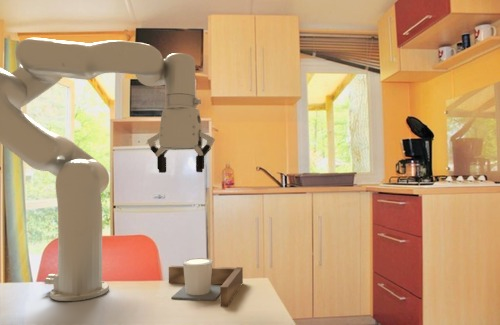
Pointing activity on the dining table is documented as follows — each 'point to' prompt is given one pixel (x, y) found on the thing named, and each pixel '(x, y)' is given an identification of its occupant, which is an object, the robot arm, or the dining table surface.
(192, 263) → the white cup
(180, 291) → the pad
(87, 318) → the dining table surface
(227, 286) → the wooden corner fence
